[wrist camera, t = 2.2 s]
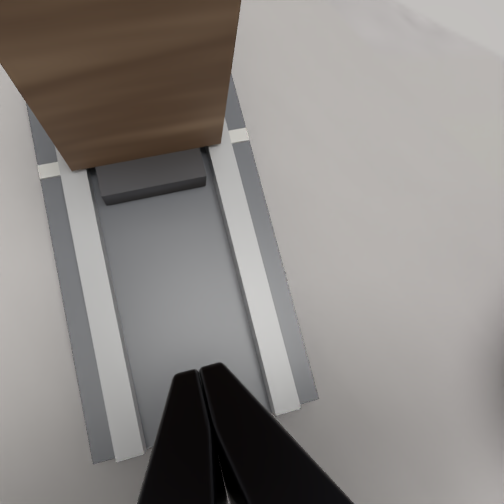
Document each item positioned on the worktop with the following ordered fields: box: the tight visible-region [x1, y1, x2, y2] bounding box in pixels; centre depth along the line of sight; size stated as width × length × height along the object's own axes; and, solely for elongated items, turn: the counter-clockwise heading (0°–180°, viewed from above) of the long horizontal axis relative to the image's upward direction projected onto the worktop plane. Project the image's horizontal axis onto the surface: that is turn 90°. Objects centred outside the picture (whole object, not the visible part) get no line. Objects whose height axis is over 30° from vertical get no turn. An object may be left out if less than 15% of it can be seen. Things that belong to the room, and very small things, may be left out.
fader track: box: [26, 74, 319, 464], centre depth 20 cm, size 20×9×2 cm, turn 15°
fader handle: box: [0, 0, 241, 206], centre depth 13 cm, size 4×6×14 cm, turn 104°
